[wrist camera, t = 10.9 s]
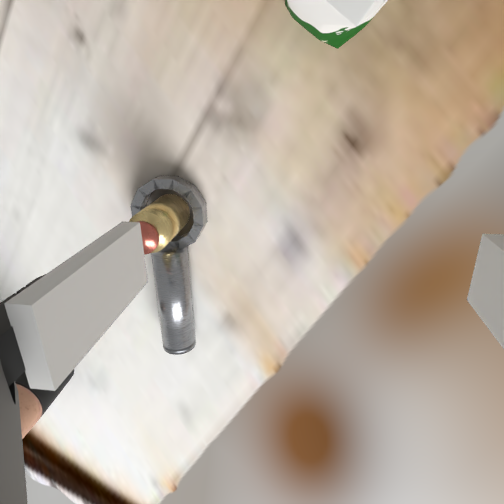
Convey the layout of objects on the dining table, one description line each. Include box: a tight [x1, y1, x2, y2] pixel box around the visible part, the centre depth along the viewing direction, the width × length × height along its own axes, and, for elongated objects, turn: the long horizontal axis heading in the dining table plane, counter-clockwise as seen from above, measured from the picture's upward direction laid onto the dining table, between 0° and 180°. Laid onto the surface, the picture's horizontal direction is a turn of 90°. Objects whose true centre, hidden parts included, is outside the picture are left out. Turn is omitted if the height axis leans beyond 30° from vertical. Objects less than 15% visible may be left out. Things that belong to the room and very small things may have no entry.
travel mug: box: [15, 369, 74, 439], centre depth 54 cm, size 8×8×20 cm
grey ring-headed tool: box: [131, 176, 207, 354], centre depth 50 cm, size 24×9×5 cm, turn 1°
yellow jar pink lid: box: [129, 194, 190, 254], centre depth 45 cm, size 5×5×10 cm
